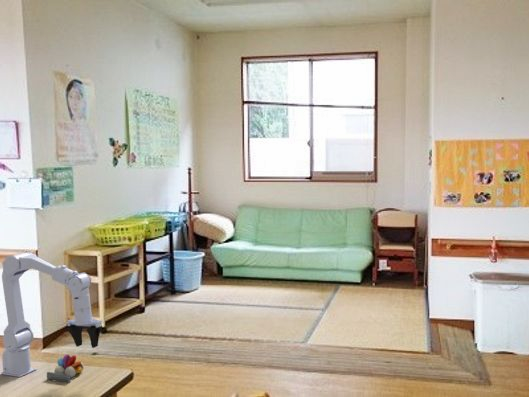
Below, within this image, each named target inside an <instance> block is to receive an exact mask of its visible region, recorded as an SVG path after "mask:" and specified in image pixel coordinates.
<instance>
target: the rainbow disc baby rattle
mask: <svg viewBox="0 0 529 397" xmlns="http://www.w3.org/2000/svg"><path fill="white" fill-rule="evenodd" d="M76 360H77V356H76V355H74V354H73V355H69V354H65V355H64V356H63V357H60V358H58V359H57V366H55V368H54V372H53V373H59V374H65V375H70V379H72V378H74V377H75V376H76V374H80V373H82V372H83V370H84V367H85V366H84V363H83V362H82V360H78V361H76Z"/></svg>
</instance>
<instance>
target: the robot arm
mask: <svg viewBox="0 0 529 397" xmlns="http://www.w3.org/2000/svg"><path fill="white" fill-rule="evenodd" d="M1 264H2V273H1V281H2V289H3V296H4V302H5V309H6V316H7V323H8V324H7V325H6V327H5V329H4V330H3V339H2V345H3V347H4V351H3V352H2V356H1V359H2V360H1V361H2V372H1V373H0V374H1V375H5V376H10V377H11V376H12V377H19V378H20V377H21V378H22V377H23V376H25V375H28V374H30V373H33V372H34V371H36V370H37V368H36V367H32V364H31V350H30V348H31V343H32V342H33V341H34V332H33V331H32V329H31V324H30V323H29V322H28V321H26V320H25V314H24V308H23V299H22V293H21V286H20V278H21V277H22V276H23V275H24V274H25V272H28V271H30V270H31V269H33V270H36V271H39V272H41V273H43V274H46V275H49V276H51V278H52V279H51V280H53V281H54V282H57V283H58V284H61V285H62V286H65V287H67V289H68V290H69V291H70V295H71V296H72V297H71V298H72V303H73V304H72V305H73V314H74V318H72V319H71V318H70V319H69V320H66V321H67V322H66V323H67V327H68V328H67V331H68V332H69V334H70V335H71V337H72V339H73V342H74V344H75V347H80V346H82V345H83V327H88V328H86V329H85V330H86V332H87V334H88V337H89V340H90V341H89V342H90V345H91V348H93V349H94V348H97V347H98V346H99V339H100V334H101V332H102V330H103V325H102V320H100V319H99V320H98V319H95V318H94V317H93V314H92V306H91V305H92V304H91V296H90V287H91V285H92V278H91V276H90V275H89V274H88V273H86V272H80V273H79V272H78V271H77V270H72V269H70V268H68V267H67V265H65V264H63V265H58V266H56V265H53V264H51V262H48V261H46V260H44V259H42V258H40V257H38V255H37V254H35V253H32V252H30V251H25V252H22V253H18V254H13V255H8V256H7V257H5V259H3V261H2V262H1Z"/></svg>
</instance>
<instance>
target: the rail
mask: <svg viewBox="0 0 529 397" xmlns="http://www.w3.org/2000/svg"><path fill="white" fill-rule="evenodd" d="M47 379H49V380H48V381H53V380H55V381H54V382H60V383H66V384H70V383H71V378H70V375H65V374H59V373H54V372H52V371H51V372H50V371H47V372H46V380H47Z"/></svg>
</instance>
